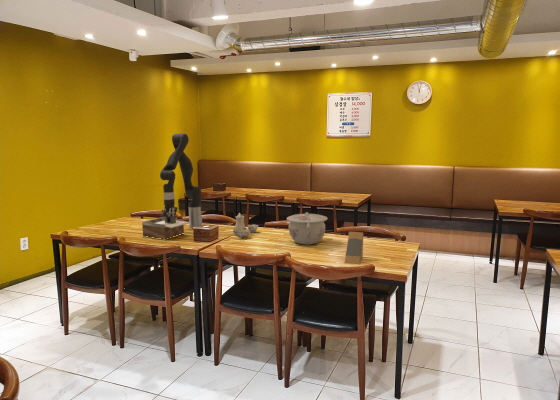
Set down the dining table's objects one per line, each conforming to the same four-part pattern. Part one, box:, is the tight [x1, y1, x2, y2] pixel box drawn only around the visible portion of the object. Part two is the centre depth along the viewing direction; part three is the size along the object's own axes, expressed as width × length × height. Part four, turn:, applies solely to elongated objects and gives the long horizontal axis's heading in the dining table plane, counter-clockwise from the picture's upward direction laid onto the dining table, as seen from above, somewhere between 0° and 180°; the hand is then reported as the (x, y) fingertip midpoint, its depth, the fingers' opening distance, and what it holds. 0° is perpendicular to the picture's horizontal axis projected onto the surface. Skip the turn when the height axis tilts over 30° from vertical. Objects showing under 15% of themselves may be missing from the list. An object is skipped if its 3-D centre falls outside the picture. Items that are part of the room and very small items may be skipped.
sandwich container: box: [344, 231, 364, 265], centre depth 234 cm, size 9×15×15 cm, turn 161°
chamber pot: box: [286, 211, 328, 246], centre depth 275 cm, size 28×28×21 cm
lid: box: [157, 215, 189, 228], centre depth 296 cm, size 17×20×6 cm
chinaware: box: [232, 212, 259, 239], centre depth 299 cm, size 28×17×17 cm, turn 168°
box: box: [141, 216, 185, 240], centre depth 300 cm, size 19×22×11 cm
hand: (170, 221), depth 296 cm, fingers closed on lid, 3 cm apart
